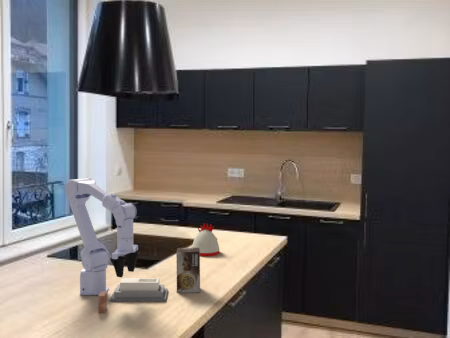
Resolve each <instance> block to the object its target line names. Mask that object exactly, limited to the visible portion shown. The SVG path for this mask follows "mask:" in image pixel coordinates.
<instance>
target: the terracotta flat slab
mask: <svg viewBox="0 0 450 338" xmlns="http://www.w3.org/2000/svg"><path fill="white" fill-rule="evenodd" d="M97 297H98V298H97V299H98V301H97V303H98V310H97V311H98V312H97V313H98V314H105V313H106V311H107V310H108V309H107V308H108V291H101V292H100V294H99V295H98V296H97Z"/></svg>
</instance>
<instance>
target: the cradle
mask: <svg viewBox="0 0 450 338" xmlns="http://www.w3.org/2000/svg"><path fill="white" fill-rule="evenodd" d="M168 291H169V288H165V284H159V291H120V284H117V286H116V288H114V290H113V293H112V294H111V296H110V299H109V301H110V302H111V303H113V302H115V303H116V302H119V303H120V302H121V303H122V302H130V303H131V302H132V303H133V302H135V301H136V302H137V301H149V302H166V301H167V297H168Z"/></svg>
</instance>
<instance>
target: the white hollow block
mask: <svg viewBox="0 0 450 338" xmlns="http://www.w3.org/2000/svg"><path fill="white" fill-rule="evenodd" d="M119 285H120V291H159V285H160V277H156V278H155V277H149V278H148V277H141V278H139V277H138V278H137V277H136V278H135V277H133V278H132V277H130V278H129V277H127V278H126V277H121V279H120V282H119Z"/></svg>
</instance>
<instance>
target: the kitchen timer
mask: <svg viewBox="0 0 450 338" xmlns="http://www.w3.org/2000/svg"><path fill="white" fill-rule="evenodd" d="M214 228H215V226H212V224H211V223H210V224H208V223H206V224H205V223H203V225H200V228H199V227H197V230H198V233H197V234H196V236H195V237H194V239H193V242H192V245H191V248H200V257H215V256H217V255H220V246H219V243H218V242H219V241H218V238H217V236H216V235H215V234H214V232H213V230H214Z"/></svg>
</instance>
